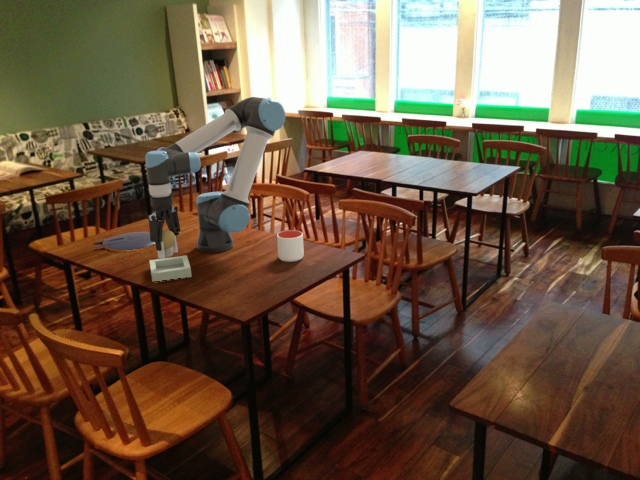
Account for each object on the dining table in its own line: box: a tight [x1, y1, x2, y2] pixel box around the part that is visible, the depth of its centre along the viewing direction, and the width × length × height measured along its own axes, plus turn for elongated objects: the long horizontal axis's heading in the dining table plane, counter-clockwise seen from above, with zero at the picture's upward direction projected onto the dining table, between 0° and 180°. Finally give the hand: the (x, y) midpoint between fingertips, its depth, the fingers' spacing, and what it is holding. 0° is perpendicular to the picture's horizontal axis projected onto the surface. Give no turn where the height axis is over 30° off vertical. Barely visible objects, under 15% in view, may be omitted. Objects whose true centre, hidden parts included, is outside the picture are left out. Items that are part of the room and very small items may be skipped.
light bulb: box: [161, 229, 175, 258], centre depth 216 cm, size 6×6×10 cm
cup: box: [276, 229, 305, 263], centre depth 228 cm, size 10×10×10 cm
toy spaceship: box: [91, 231, 155, 250], centre depth 253 cm, size 28×24×3 cm
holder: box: [149, 255, 193, 282], centre depth 219 cm, size 14×14×4 cm
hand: (168, 254), depth 217 cm, fingers closed on light bulb, 6 cm apart
